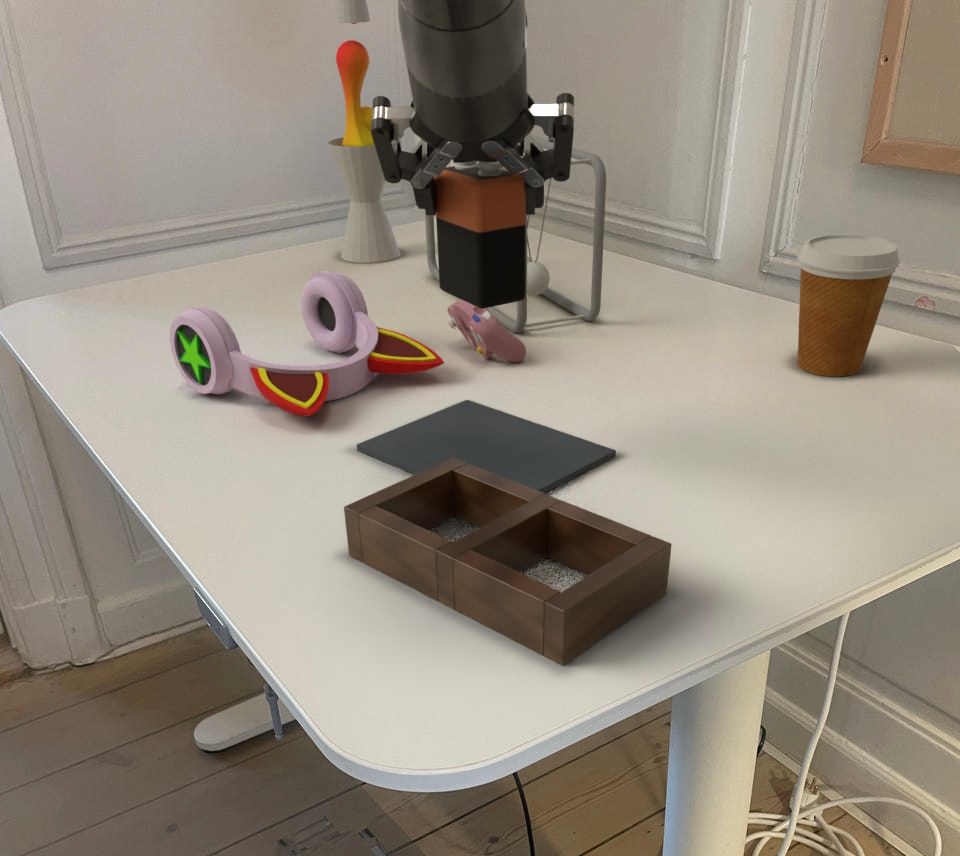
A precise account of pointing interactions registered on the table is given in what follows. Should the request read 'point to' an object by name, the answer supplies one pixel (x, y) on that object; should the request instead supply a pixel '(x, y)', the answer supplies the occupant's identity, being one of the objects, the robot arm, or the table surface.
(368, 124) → the lava lamp
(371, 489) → the table surface
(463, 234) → the battery
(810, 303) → the disposable coffee cup
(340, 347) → the headphones
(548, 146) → the newton's cradle
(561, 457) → the mat
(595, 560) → the tray
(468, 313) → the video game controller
